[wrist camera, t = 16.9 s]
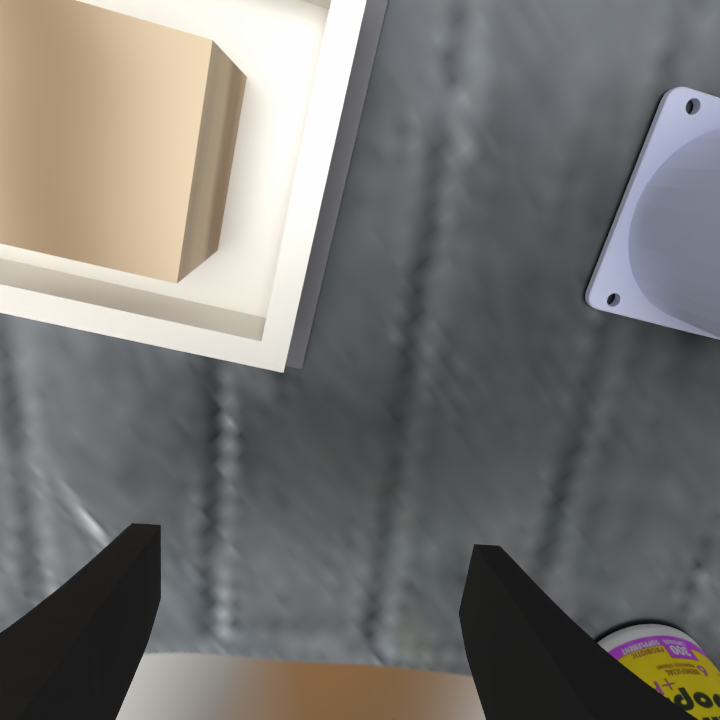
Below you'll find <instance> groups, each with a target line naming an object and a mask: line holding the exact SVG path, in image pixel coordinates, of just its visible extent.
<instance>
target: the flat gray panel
mask: <svg viewBox="0 0 720 720" xmlns="http://www.w3.org/2000/svg"><path fill="white" fill-rule="evenodd" d="M387 3H388V0H366V5H365V9H364V14H363V18H362V23H361V27H360V32H359V36H358V40H357V45H356V49H355V54H354V58H353V63H352V67H351V72H350V76H349V81H348V85H347V90H346V94H345V99H344V103H343V108H342V112H341V117H340V121H339V126H338V130H337V135H336V139H335V144H334V148H333V153H332V157H331V162H330V166H329V171H328V175H327V180H326V184H325V189H324V193H323V198H322V202H321V207H320V211H319V216H318V220H317V225H316V229H315V234H314V238H313V243H312V247H311V252H310V256H309V261H308V265H307V270H306V274H305V279H304V283H303V287H302V292H301V296H300V301H299V305H298V310H297V314H296V319H295V323H294V328H293V332H292V337H291V341H290V346H289V350H288V355H287V359H286V364H285V366H288V367H293V368H298V369H302V366H303V362H304V358H305V354H306V349H307V345H308V341H309V336H310V332H311V328H312V324H313V319H314V315H315V311H316V306H317V302H318V298H319V294H320V289H321V285H322V281H323V277H324V272H325V268H326V264H327V259H328V255H329V251H330V247H331V242H332V238H333V234H334V229H335V225H336V221H337V217H338V212H339V208H340V204H341V199H342V195H343V191H344V187H345V182H346V178H347V174H348V170H349V165H350V161H351V157H352V152H353V148H354V144H355V140H356V135H357V131H358V127H359V122H360V118H361V114H362V110H363V105H364V101H365V97H366V92H367V88H368V84H369V80H370V75H371V71H372V67H373V63H374V58H375V54H376V50H377V45H378V41H379V37H380V33H381V28H382V24H383V20H384V15H385V11H386V7H387Z"/></svg>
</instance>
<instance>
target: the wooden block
mask: <svg viewBox="0 0 720 720" xmlns="http://www.w3.org/2000/svg"><path fill="white" fill-rule="evenodd" d="M246 79H247V76H246V75H245V74H244V73H243V72H242V71H241V70H240V69H239V68H238V67H237V66H236V65H235V64H234V62H233V61H232V60H231V59H230V58H229V57H228V56H227V55H226V54H225V53H224V52H223V51H222V50H221V48H220V47H219V46H218V45H217V44H216V43H215V42H214V41H213V40H211V39H208V38H204V37H201V36H197V35H194V34H190V33H187V32H183V31H180V30H177V29H173V28H170V27H166V26H163V25H159V24H156V23H152V22H149V21H145V20H142V19H139V18H135V17H132V16H128V15H125V14H121V13H118V12H114V11H111V10H108V9H104V8H101V7H97V6H94V5H90V4H87V3H83V2H80V1H76V0H0V244H5V245H9V246H13V247H18V248H22V249H27V250H31V251H35V252H40V253H44V254H49V255H53V256H57V257H62V258H66V259H70V260H75V261H79V262H84V263H88V264H92V265H97V266H101V267H106V268H110V269H114V270H119V271H123V272H127V273H132V274H136V275H141V276H145V277H149V278H154V279H158V280H163V281H167V282H171V283H176V284H177V283H178V282H180V281H181V280H182V279H183V278H184V277H186V276H187V275H188V274H189V273H191V272H192V271H193V270H194V269H196V268H197V267H198V266H199V265H200V264H202V263H203V262H204V261H205V260H207V259H208V258H209V257H210V256H211V255H213V254H214V253H215V252H216V251H218V246H219V240H220V234H221V228H222V222H223V216H224V210H225V204H226V198H227V192H228V186H229V180H230V174H231V168H232V162H233V156H234V150H235V144H236V138H237V132H238V126H239V120H240V114H241V108H242V102H243V96H244V91H245V85H246Z"/></svg>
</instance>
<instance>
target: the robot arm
mask: <svg viewBox="0 0 720 720" xmlns="http://www.w3.org/2000/svg"><path fill="white" fill-rule="evenodd" d="M689 100H691V101H692V102H693V105H694V106H693V110H692V112H691V113H690V114H688V113H687V112H686V109H685V108H686V104H687V102H688V101H689ZM613 293H614V294H615V300H614V301H613V302H612V303H611V304H607V298H608V297H609V295H611V294H613ZM585 300H586V302H587V304H588V305H589V306H591V307H593V308H595V309H598V310H602V311H606V312H610V313H614V314H618V315H622V316H626V317H630V318H634V319H638V320H642V321H646V322H650V323H654V324H658V325H662V326H666V327H670V328H674V329H678V330H682V331H686V332H690V333H694V334H698V335H703V336H707V337H711V338H715V339H719V340H720V98H719V97H716V96H712V95H709V94H706V93H703V92H700V91H697V90H693V89H690V88H687V87H676V88H673V89H670V90H669V91H667V92H666V93H665V94H664V96H663V98H662V99H661V102H660V104H659V107H658V109H657V112H656V114H655V117H654V119H653V122H652V125H651V127H650V130H649V132H648V135H647V137H646V140H645V142H644V145H643V148H642V150H641V153H640V155H639V158H638V160H637V163H636V165H635V168H634V170H633V173H632V176H631V178H630V181H629V183H628V186H627V188H626V191H625V193H624V196H623V199H622V201H621V204H620V206H619V209H618V211H617V214H616V216H615V219H614V222H613V224H612V227H611V229H610V232H609V234H608V237H607V239H606V242H605V244H604V247H603V250H602V252H601V255H600V257H599V260H598V262H597V265H596V267H595V270H594V273H593V275H592V278H591V280H590V283H589V285H588V288H587V290H586V294H585ZM160 599H161V525H151V524H134V523H132V524H131V525H130V526H129V527H127V528H126V529H125V530H124V531H123V532H122V533H121V534H120V535H119V536H117V537H116V538H115V539H114V540H113V541H112V542H111V543H110V544H109V545H108V546H107V547H105V548H104V549H103V550H102V551H101V552H100V553H99V554H98V555H97V556H96V557H94V558H93V559H92V560H91V561H90V562H89V563H88V564H87V565H85V566H84V567H83V568H82V569H81V570H80V571H79V572H77V573H76V574H75V575H74V576H73V577H72V578H70V579H69V580H68V581H67V582H66V583H65V584H63V585H62V586H61V587H60V588H59V589H57V590H56V591H55V592H54V593H52V594H51V595H50V596H49V597H47V598H46V599H45V600H44V601H42V602H41V603H40V604H38V605H37V606H36V607H35V608H33V609H32V610H31V611H30V612H28V613H27V614H26V615H24V616H23V617H22V618H20V619H19V620H18V621H16V622H15V623H14V624H12V625H11V626H10V627H8V628H7V629H5V630H4V631H3V632H1V633H0V720H116V717H117V715H118V712H119V710H120V708H121V705H122V703H123V701H124V698H125V696H126V694H127V691H128V689H129V687H130V684H131V682H132V679H133V677H134V675H135V672H136V670H137V667H138V665H139V663H140V660H141V658H142V656H143V653H144V651H145V648H146V646H147V643H148V640H149V637H150V634H151V630H152V627H153V624H154V620H155V617H156V613H157V610H158V606H159V603H160ZM459 617H460V623H461V628H462V634H463V640H464V645H465V650H466V655H467V659H468V662H469V666H470V669H471V672H472V676H473V679H474V682H475V685H476V689H477V692H478V695H479V698H480V701H481V704H482V708H483V711H484V714H485V717H486V720H698V719H697V718H695V717H694V716H692V715H691V714H689V713H688V712H686V711H685V710H683V709H682V708H681V707H679V706H678V705H676V704H675V703H673V702H672V701H671V700H669V699H668V698H666V697H665V696H663V695H662V694H661V693H659V692H658V691H656V690H655V689H654V688H652V687H651V686H650V685H648V684H647V683H646V682H644V681H643V680H642V679H640V678H639V677H638V676H637V675H635V674H634V673H633V672H632V671H630V670H629V669H628V668H627V667H625V666H624V665H623V664H621V663H620V662H619V661H618V660H616V659H615V658H614V657H613V656H612V655H610V654H609V653H608V652H607V651H606V650H605V649H603V648H602V647H601V646H600V645H599V644H598V643H597V642H595V641H594V640H593V639H592V638H591V637H590V636H589V635H588V634H587V633H586V632H584V631H583V630H582V629H581V628H580V627H579V626H578V625H577V624H576V623H575V622H574V621H573V620H572V619H570V618H569V617H568V616H567V615H566V614H565V613H564V612H563V611H562V610H561V609H560V608H559V607H558V606H557V605H556V604H555V603H554V602H553V601H552V600H551V599H550V598H549V597H548V596H547V595H546V594H545V593H544V592H543V591H542V590H541V589H540V588H539V587H538V585H537V584H536V583H535V582H534V581H533V580H532V579H531V578H530V577H529V576H528V575H527V574H526V573H525V572H524V571H523V570H522V569H521V568H520V567H519V565H518V564H517V563H516V562H515V561H514V560H513V559H512V558H511V557H510V556H509V555H508V554H507V553H506V552H505V551H504V550H503V549H502V548H501V547H500V546H494V545H477V544H474V548H473V552H472V557H471V561H470V566H469V570H468V574H467V579H466V583H465V588H464V592H463V597H462V601H461V606H460V610H459Z"/></svg>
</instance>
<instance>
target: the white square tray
mask: <svg viewBox="0 0 720 720" xmlns="http://www.w3.org/2000/svg"><path fill="white" fill-rule="evenodd" d="M76 1H80V2H83V3H87V4H90V5H94V6H97V7H101V8H104V9H108V10H111V11H114V12H118V13H121V14H125V15H128V16H132V17H135V18H139V19H142V20H145V21H149V22H152V23H156V24H159V25H163V26H166V27H170V28H173V29H177V30H180V31H183V32H187V33H190V34H194V35H197V36H201V37H204V38H208V39H211V40H213V41H214V42H215V43H216V44H217V45H218V46H219V47H220V48H221V50H222V51H223V52H224V53H225V54H226V55H227V56H228V57H229V58H230V59H231V60H232V61H233V62H234V64H235V65H236V66H237V67H238V68H239V69H240V70H241V71H242V72H243V73H244V74H245V75H246V76H247V79H246V85H245V91H244V96H243V102H242V108H241V114H240V120H239V126H238V132H237V138H236V144H235V150H234V156H233V162H232V168H231V174H230V180H229V186H228V192H227V198H226V204H225V210H224V216H223V222H222V228H221V234H220V240H219V246H218V251H216V252H215V253H214V254H213V255H211V256H210V257H209V258H208V259H207V260H205V261H204V262H203V263H202V264H200V265H199V266H198V267H197V268H196V269H194V270H193V271H192V272H191V273H189V274H188V275H187V276H186V277H184V278H183V279H182V280H181V281H180V282H178V283H177V284H176V283H171V282H167V281H163V280H158V279H154V278H149V277H145V276H141V275H136V274H132V273H127V272H123V271H119V270H114V269H110V268H106V267H101V266H97V265H92V264H88V263H84V262H79V261H75V260H70V259H66V258H62V257H57V256H53V255H49V254H44V253H40V252H35V251H31V250H27V249H22V248H18V247H13V246H9V245H5V244H0V313H5V314H9V315H14V316H19V317H23V318H28V319H33V320H37V321H42V322H47V323H52V324H56V325H61V326H66V327H70V328H75V329H80V330H84V331H89V332H94V333H99V334H103V335H108V336H113V337H117V338H122V339H127V340H131V341H136V342H141V343H146V344H150V345H155V346H160V347H164V348H169V349H174V350H178V351H183V352H188V353H193V354H197V355H202V356H207V357H211V358H216V359H221V360H225V361H230V362H235V363H240V364H244V365H249V366H254V367H258V368H263V369H268V370H272V371H277V372H282V373H284V368H285V364H286V359H287V355H288V350H289V346H290V341H291V337H292V332H293V328H294V323H295V319H296V314H297V310H298V305H299V301H300V296H301V292H302V287H303V283H304V279H305V274H306V270H307V265H308V261H309V256H310V252H311V247H312V243H313V238H314V234H315V229H316V225H317V220H318V216H319V211H320V207H321V202H322V198H323V193H324V189H325V184H326V180H327V175H328V171H329V166H330V162H331V157H332V153H333V148H334V144H335V139H336V135H337V130H338V126H339V121H340V117H341V112H342V108H343V103H344V99H345V94H346V90H347V85H348V81H349V76H350V72H351V67H352V63H353V58H354V54H355V49H356V45H357V40H358V36H359V32H360V27H361V23H362V18H363V14H364V9H365V5H366V0H76Z"/></svg>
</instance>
